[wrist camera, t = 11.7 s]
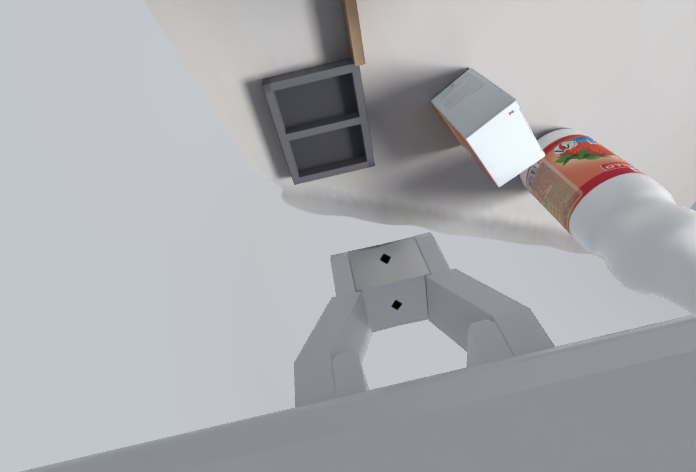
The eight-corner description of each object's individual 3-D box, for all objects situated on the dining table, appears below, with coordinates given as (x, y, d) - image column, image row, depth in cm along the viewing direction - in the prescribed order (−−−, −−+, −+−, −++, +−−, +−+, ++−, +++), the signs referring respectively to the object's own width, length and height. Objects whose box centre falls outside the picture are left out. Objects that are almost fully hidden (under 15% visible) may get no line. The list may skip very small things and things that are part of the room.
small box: (428, 99, 44) (463, 138, 36) (470, 65, 42) (516, 97, 34) (461, 146, 48) (498, 190, 40) (500, 117, 47) (547, 156, 38)
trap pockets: (355, 57, 40) (358, 62, 38) (371, 158, 47) (374, 165, 46) (262, 79, 40) (262, 85, 38) (293, 176, 48) (294, 184, 46)
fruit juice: (502, 174, 52) (662, 348, 30) (555, 113, 47) (787, 268, 26) (547, 198, 56) (718, 368, 34) (600, 144, 51) (836, 301, 29)
